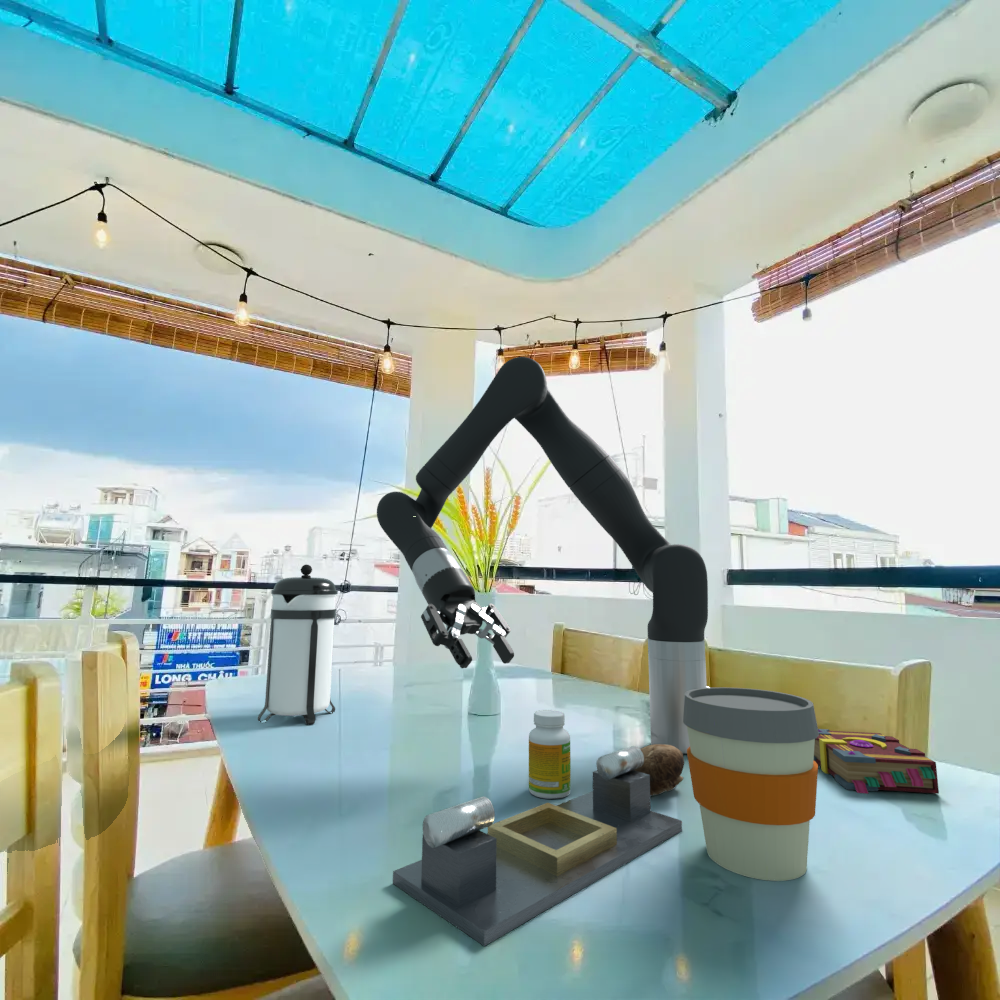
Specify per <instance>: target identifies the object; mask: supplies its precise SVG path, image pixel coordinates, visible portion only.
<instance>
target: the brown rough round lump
mask: <svg viewBox="0 0 1000 1000" xmlns="http://www.w3.org/2000/svg"><path fill="white" fill-rule="evenodd" d="M639 749H640V750H641V751H642V753H643V756H644V763H643V765H642V766H641V767H640V768H637V769H635V770H634V771H638V772H642V773H645V774H649V775H650V797H652V796H653V797H654V796H658V795H661V794H663V793H665V792H670V791H672V790H674V789H675V788H676V787H678V785H679V784H681V783H682V781H683V780H684V777H683V776H682V772H683V769H684V767H685V758H684V753H682V752H681V751H680V750H679V749H677V748H676V747H674V746H671V745H665V744H654V745H652V744H649V745H647V746H644V747H641V748H639Z"/></svg>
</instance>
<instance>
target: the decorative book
mask: <svg viewBox="0 0 1000 1000" xmlns="http://www.w3.org/2000/svg"><path fill="white" fill-rule="evenodd" d="M818 732H819V736H818V737H817V738H816V739H815V744H814V761H815V762H816V763H817V764H818V766H820V769H821V771H822V772H823V773H824V774H826V775H831V776H833V777H834V780H835V781H836V782H837V783H839V785H841V786H843V788H845V790H851V791H856V792H857V794H869V792H879V791H894V792H909V793H922V794H924V793H925V794H940V793H939V792H940V790H939V780H938V771H937V770H938V769H937V762H936V761H934V760H932V759H931V758H928V757H926V753H925V752H923V751H921V750H919V749H918V748H909V747H907V746H906V745H903V744H902V743H900V740H899V739H897V738H896V737H894V736H889V735H884V734H882V733H880V732H865V731H864V732H862V731H843V730H842V731H840V730H839V731H838V730H830V729H827V728H826V729H825V728H818Z"/></svg>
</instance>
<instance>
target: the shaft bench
mask: <svg viewBox="0 0 1000 1000" xmlns="http://www.w3.org/2000/svg"><path fill="white" fill-rule="evenodd" d="M640 749H641V748H640V747H638V746H636V745H632V746H628V747H625V748H623V749H620V750H617V751H613V752H610V753H608V754H605V755H602V756H599V757H598V758H597V759H596V765H595V767H596V770H594V771H592V791H590V792H588V793H584V794H582V795H580V796H576V797H575V798H572V799H570V800H568V801H564V802H562V803H560V804H558V805H555V804H553V803H550V802H545V803H543V804H541V805H538V806H536V807H533V808H530V809H527V810H526V811H523V812H520V813H517V814H515V815H513V816H510V817H508V818H505V819H501V820H499V821H497V822H494V821H495V817H496V814H495V812H496V811H495V808H494V805H493V803H492V801H491V800H490V799H489V798H488V797H487V796H481V797H478V798H474V799H471V800H469V801H465V802H462V803H459V804H457V805H454V806H451V807H448V808H444V809H442V810H441V809H440V810H439V811H435V812H433V813H430V814H427V815H426V816H425V817H424V818H423V820H422V821H423V822H422V840H421V841H422V843H421V844H422V850H421V859H420V860H417V861H415V862H413V863H410V864H408V865H405V866H402V867H400V868H397V869H395V870H392V884H393V885H394V886H396V887H397V888H398V889H400V890H401V891H403V892H405V893H406V894H407V895H409V896H410V897H412V898H413V899H415V900H416V901H418V902H419V903H421V904H422V905H423V906H425V907H426V908H428V909H429V910H430V911H432V912H434V913H435V914H437V915H438V916H440V917H441V918H443V919H444V920H445V921H446V922H448V923H450V924H451V925H453V926H455V927H456V928H457V929H459V930H460V931H462V932H463V933H464V934H466V935H467V936H469V937H470V938H471V939H473V940H474V941H476V942H477V943H479V944H480V945H482V946H484V947H485V946H487V945H489V944H490V943H492V942H494V941H496V940H498V939H499V938H501V937H503V936H505V935H506V934H508V933H509V932H512V931H513V930H514V929H516V928H518V927H520V926H522V925H523V924H525V923H526V922H528V921H530V920H532V919H534V918H535V917H537V916H538V915H540V914H542V913H543V912H546V911H547V910H549V909H550V908H552V907H554V906H556V905H557V904H559V903H561V902H563V901H564V900H566V899H567V898H569V897H571V896H573V895H574V894H576V893H578V892H580V891H582V890H583V889H585V888H587V887H588V886H590V885H591V884H593V883H595V882H596V881H598V880H600V879H603V878H604V877H605V876H607V875H609V874H610V873H612V872H613V871H616V870H617V869H619V868H620V867H622V866H625V865H626V864H627V863H629V862H631V861H633V860H635V859H636V858H638V857H639V856H641V855H643V854H645V853H646V852H649V851H650V850H652V849H653V848H655V847H656V846H658V845H660V844H662V843H664V842H666V841H667V840H668V839H671V838H672V837H674V836H675V835H677V834H679V833H680V832H682V831H683V822H682V820H681V819H678V818H675V817H672V816H668V815H665V814H662V813H659V812H657V811H653V810H652V808H651V807H652V806H651V796H650V775H649V774H645V773H642V772H638V771H634V770H635V769H637V768H640V767H641V766H642V765H643V763H644V756H643V753H642V751H641V750H640ZM486 828H487V832H484V831H481V830H483V829H486Z"/></svg>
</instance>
